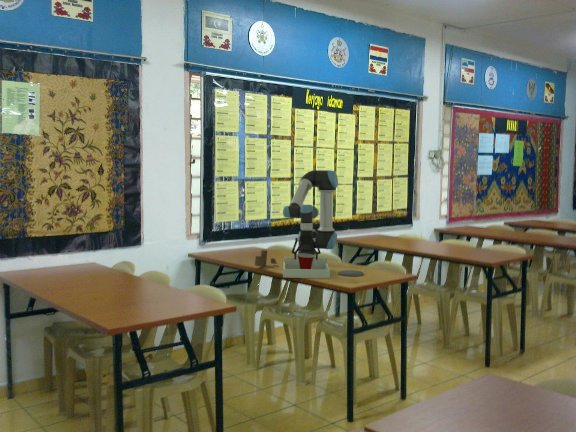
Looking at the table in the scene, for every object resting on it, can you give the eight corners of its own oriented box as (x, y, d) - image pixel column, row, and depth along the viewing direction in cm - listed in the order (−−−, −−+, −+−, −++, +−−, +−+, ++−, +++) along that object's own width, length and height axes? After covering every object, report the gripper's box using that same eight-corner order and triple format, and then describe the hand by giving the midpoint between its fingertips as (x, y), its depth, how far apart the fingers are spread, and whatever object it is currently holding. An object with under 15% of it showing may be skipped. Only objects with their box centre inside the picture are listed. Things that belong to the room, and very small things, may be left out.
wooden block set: (260, 269, 389) (261, 253, 388) (249, 266, 394) (251, 251, 393) (276, 265, 404) (278, 250, 403) (266, 263, 409) (267, 248, 408)
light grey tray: (283, 269, 389) (283, 257, 388) (326, 269, 389) (326, 257, 388) (283, 277, 361) (283, 264, 360) (329, 278, 361) (330, 264, 361)
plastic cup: (309, 275, 368) (309, 256, 367) (293, 273, 373) (294, 254, 372) (317, 273, 377) (317, 254, 376) (302, 271, 382) (302, 252, 381)
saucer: (336, 271, 383) (336, 270, 383) (361, 271, 383) (361, 270, 383) (338, 276, 367) (338, 274, 367) (365, 276, 367) (365, 275, 367)
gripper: (287, 230, 369) (287, 265, 371) (325, 230, 369) (324, 266, 371) (287, 228, 376) (287, 263, 378) (324, 229, 377) (324, 264, 378)
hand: (305, 264), depth 375 cm, fingers closed on plastic cup, 11 cm apart
